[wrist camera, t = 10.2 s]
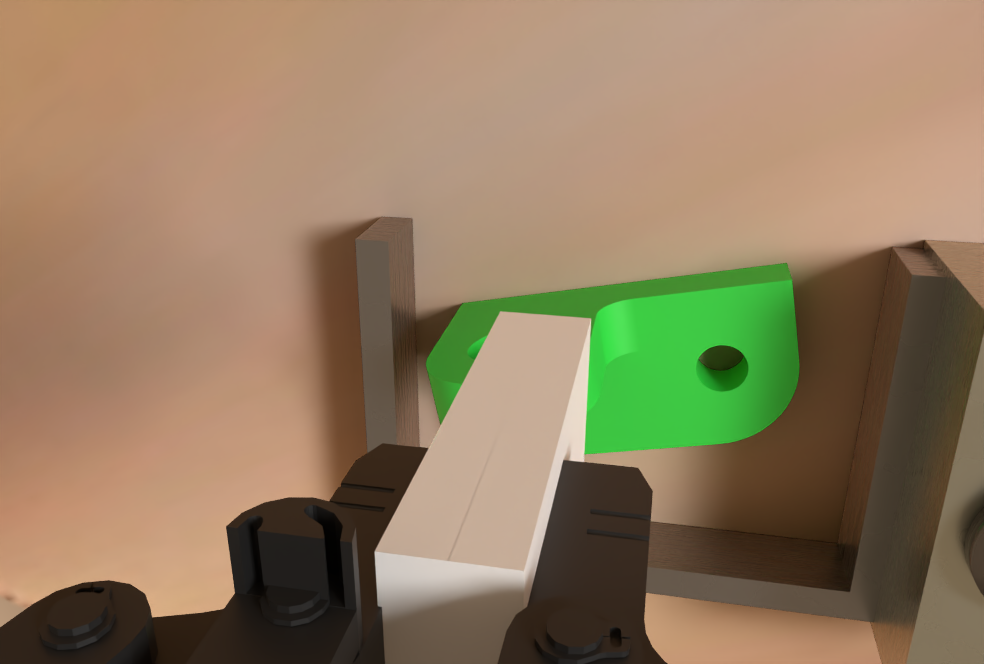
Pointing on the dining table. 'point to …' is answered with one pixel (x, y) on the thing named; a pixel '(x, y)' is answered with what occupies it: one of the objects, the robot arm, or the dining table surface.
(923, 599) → the knobbed latch bracket
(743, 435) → the mechanical part
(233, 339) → the dining table surface
